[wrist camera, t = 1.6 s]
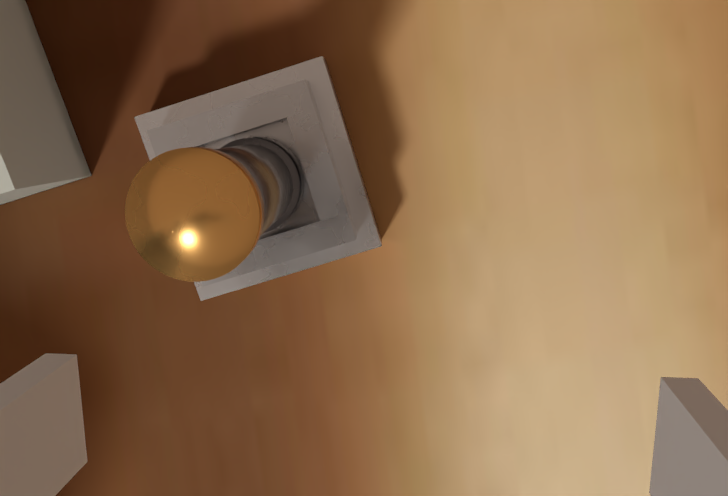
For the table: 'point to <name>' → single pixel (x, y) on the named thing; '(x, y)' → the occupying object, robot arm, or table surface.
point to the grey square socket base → (308, 143)
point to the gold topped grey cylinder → (211, 205)
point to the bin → (32, 113)
